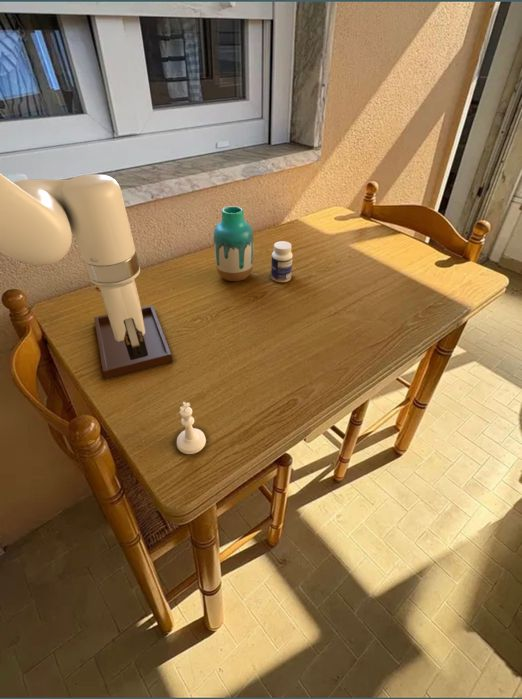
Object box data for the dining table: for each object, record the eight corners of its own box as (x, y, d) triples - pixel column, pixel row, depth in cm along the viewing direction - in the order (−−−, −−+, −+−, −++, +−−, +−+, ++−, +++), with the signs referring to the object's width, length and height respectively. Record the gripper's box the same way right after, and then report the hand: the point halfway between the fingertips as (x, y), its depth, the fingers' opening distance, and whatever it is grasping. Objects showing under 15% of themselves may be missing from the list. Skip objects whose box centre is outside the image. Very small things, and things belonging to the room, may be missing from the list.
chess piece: (171, 440, 65) (161, 401, 58) (194, 425, 68) (188, 386, 61) (187, 459, 62) (179, 420, 56) (211, 442, 65) (206, 403, 58)
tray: (105, 379, 76) (102, 371, 75) (96, 324, 90) (93, 317, 88) (172, 361, 80) (171, 354, 79) (154, 311, 94) (152, 304, 92)
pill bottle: (269, 273, 109) (270, 240, 102) (289, 272, 109) (291, 239, 103) (272, 283, 105) (273, 250, 98) (292, 282, 105) (295, 249, 99)
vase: (216, 288, 102) (211, 218, 90) (215, 269, 110) (210, 202, 98) (255, 286, 103) (256, 217, 91) (251, 267, 111) (251, 201, 99)
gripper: (82, 248, 61) (112, 336, 73) (90, 295, 51) (123, 389, 63) (130, 240, 63) (151, 327, 76) (147, 283, 53) (168, 376, 65)
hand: (138, 355), depth 69 cm, fingers closed
